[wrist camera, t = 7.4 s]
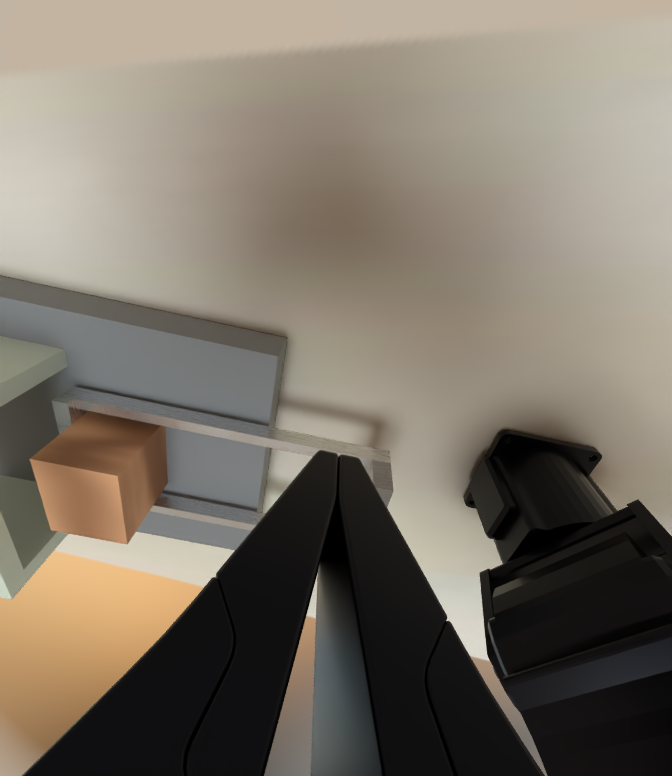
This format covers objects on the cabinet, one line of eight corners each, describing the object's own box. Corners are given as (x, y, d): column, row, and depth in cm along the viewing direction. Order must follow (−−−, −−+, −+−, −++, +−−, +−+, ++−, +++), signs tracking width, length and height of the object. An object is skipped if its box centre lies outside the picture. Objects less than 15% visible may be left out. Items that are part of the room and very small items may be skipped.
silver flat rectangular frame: (389, 451, 20) (393, 491, 17) (357, 537, 24) (357, 581, 21) (72, 386, 19) (26, 417, 17) (92, 486, 23) (57, 524, 20)
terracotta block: (165, 420, 20) (117, 476, 16) (167, 483, 23) (127, 544, 19) (94, 406, 20) (29, 458, 16) (105, 470, 23) (50, 530, 19)
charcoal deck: (287, 338, 20) (278, 356, 18) (259, 524, 28) (251, 553, 26) (-194, 233, 19) (-267, 239, 17) (-81, 458, 27) (-120, 482, 25)
